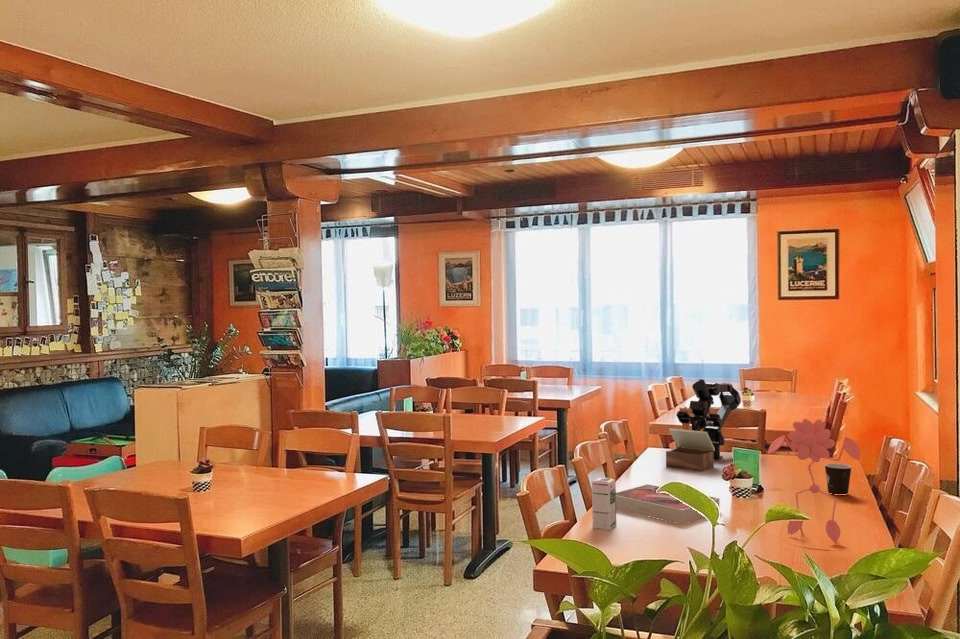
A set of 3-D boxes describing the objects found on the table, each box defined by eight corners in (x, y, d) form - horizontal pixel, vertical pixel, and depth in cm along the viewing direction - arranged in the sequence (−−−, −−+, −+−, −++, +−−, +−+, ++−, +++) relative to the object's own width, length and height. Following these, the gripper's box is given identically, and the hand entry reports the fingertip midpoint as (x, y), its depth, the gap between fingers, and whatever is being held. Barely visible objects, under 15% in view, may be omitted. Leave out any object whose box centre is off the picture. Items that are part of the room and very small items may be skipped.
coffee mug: (826, 489, 277) (826, 462, 276) (852, 492, 272) (852, 465, 272) (822, 496, 267) (822, 468, 266) (849, 499, 262) (849, 470, 262)
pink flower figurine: (774, 526, 229) (773, 412, 228) (866, 544, 212) (866, 420, 211) (754, 539, 217) (753, 418, 216) (850, 558, 200) (850, 427, 199)
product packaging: (647, 498, 267) (647, 484, 267) (719, 513, 246) (719, 498, 246) (609, 509, 253) (609, 494, 253) (682, 526, 232) (682, 510, 232)
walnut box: (678, 462, 329) (678, 447, 329) (713, 466, 319) (713, 451, 319) (666, 466, 320) (666, 451, 320) (702, 471, 310) (702, 455, 310)
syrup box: (610, 530, 226) (610, 482, 226) (591, 527, 229) (591, 480, 228) (616, 525, 231) (616, 478, 231) (598, 523, 234) (598, 476, 233)
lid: (677, 446, 330) (678, 445, 330) (714, 451, 319) (715, 449, 319) (669, 429, 323) (669, 428, 323) (706, 433, 312) (706, 431, 313)
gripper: (678, 392, 332) (667, 420, 324) (719, 395, 320) (708, 424, 312) (685, 408, 338) (675, 436, 330) (726, 411, 326) (716, 440, 318)
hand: (693, 433), depth 322 cm, fingers closed
